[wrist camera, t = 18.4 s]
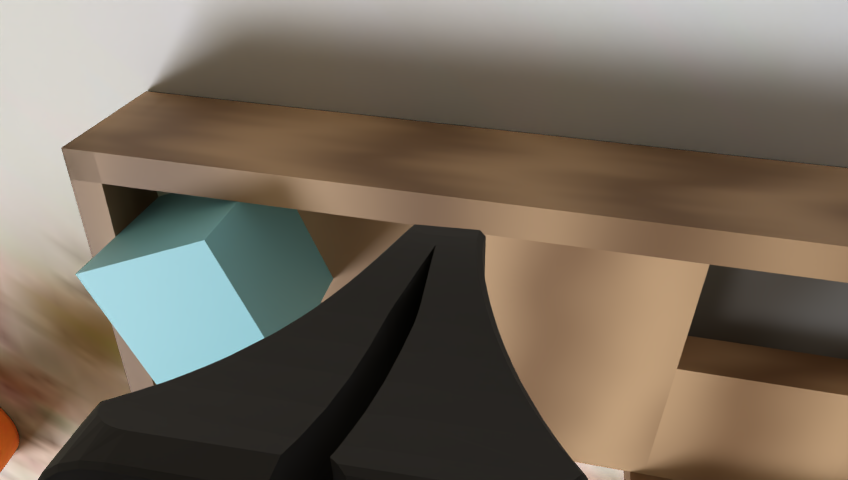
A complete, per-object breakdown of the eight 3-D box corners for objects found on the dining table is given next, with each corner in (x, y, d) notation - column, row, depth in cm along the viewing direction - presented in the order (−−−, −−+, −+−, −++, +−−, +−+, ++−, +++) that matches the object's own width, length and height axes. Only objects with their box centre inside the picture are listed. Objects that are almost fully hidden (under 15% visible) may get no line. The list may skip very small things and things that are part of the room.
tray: (1299, 217, 18) (1480, 326, 14) (1041, 520, 25) (1119, 645, 22) (146, 91, 23) (61, 147, 19) (203, 374, 30) (148, 454, 27)
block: (333, 278, 23) (284, 370, 20) (225, 302, 25) (161, 391, 21) (271, 162, 21) (204, 240, 18) (158, 196, 23) (75, 274, 19)
